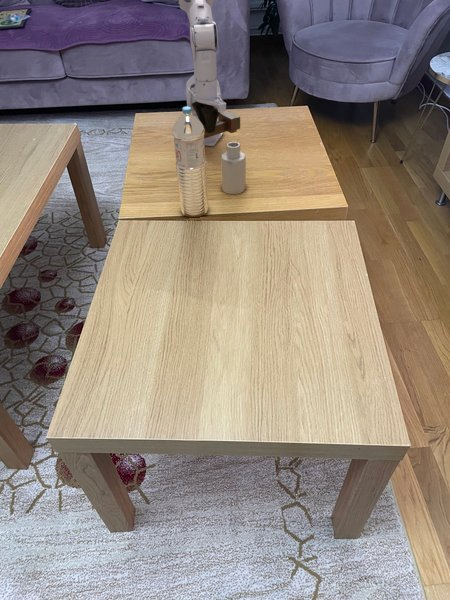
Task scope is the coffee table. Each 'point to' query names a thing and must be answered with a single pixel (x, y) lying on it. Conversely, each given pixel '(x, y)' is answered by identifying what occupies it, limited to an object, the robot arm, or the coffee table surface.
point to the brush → (225, 124)
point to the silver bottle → (233, 169)
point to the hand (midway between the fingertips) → (208, 130)
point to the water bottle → (191, 164)
